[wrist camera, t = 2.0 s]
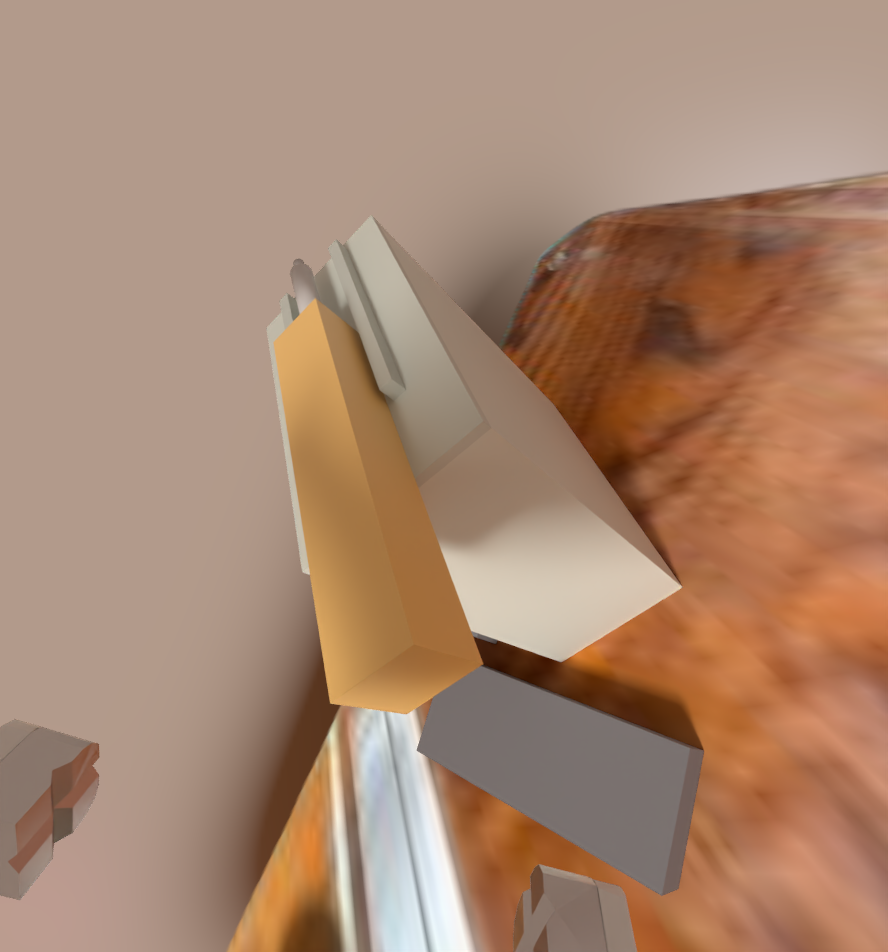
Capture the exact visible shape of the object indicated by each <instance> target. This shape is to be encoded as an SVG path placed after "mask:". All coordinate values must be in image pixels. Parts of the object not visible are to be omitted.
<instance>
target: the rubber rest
mask: <svg viewBox="0 0 888 952" xmlns="http://www.w3.org/2000/svg"><path fill="white" fill-rule="evenodd" d="M417 751H418V752H420V753H422V754H423V755H425V756H427V757H428V758H430V759H432V760H434V761H435V762H437V763H439V764H440V765H442V766H444V767H445V768H447V769H449V770H450V771H452V772H454V773H455V774H457V775H459V776H461V777H462V778H464V779H466V780H467V781H469V782H471V783H472V784H474V785H476V786H477V787H479V788H481V789H483V790H484V791H486V792H488V793H489V794H491V795H493V796H494V797H496V798H498V799H499V800H501V801H503V802H504V803H506V804H508V805H510V806H511V807H513V808H515V809H516V810H518V811H520V812H521V813H523V814H525V815H526V816H528V817H530V818H531V819H533V820H535V821H537V822H538V823H540V824H542V825H543V826H545V827H547V828H548V829H550V830H552V831H553V832H555V833H557V834H558V835H560V836H562V837H564V838H565V839H567V840H569V841H570V842H572V843H574V844H575V845H577V846H579V847H580V848H582V849H584V850H585V851H587V852H589V853H591V854H592V855H594V856H596V857H597V858H599V859H601V860H602V861H604V862H606V863H607V864H609V865H611V866H612V867H614V868H616V869H618V870H619V871H621V872H623V873H624V874H626V875H628V876H629V877H631V878H633V879H634V880H636V881H638V882H639V883H641V884H643V885H645V886H646V887H648V888H650V889H651V890H653V891H655V892H656V893H658V894H660V895H661V896H662V895H665V894H667V893H670V892H672V891H674V890H677V889H678V888H679V882H680V877H681V872H682V866H683V861H684V856H685V850H686V845H687V840H688V834H689V829H690V823H691V818H692V813H693V807H694V802H695V797H696V791H697V786H698V780H699V775H700V770H701V764H702V759H703V754H704V750H701V749H698V748H696V747H693V746H691V745H688V744H686V743H683V742H680V741H678V740H675V739H673V738H670V737H668V736H665V735H662V734H660V733H657V732H655V731H652V730H650V729H647V728H644V727H642V726H639V725H637V724H634V723H632V722H629V721H626V720H624V719H621V718H619V717H616V716H614V715H611V714H608V713H606V712H603V711H601V710H598V709H596V708H593V707H590V706H588V705H585V704H583V703H580V702H578V701H575V700H572V699H570V698H567V697H565V696H562V695H560V694H557V693H554V692H552V691H549V690H547V689H544V688H542V687H539V686H536V685H534V684H531V683H529V682H526V681H524V680H521V679H518V678H516V677H513V676H511V675H508V674H506V673H503V672H500V671H498V670H495V669H493V668H490V667H488V666H485V665H481V666H480V667H478V668H477V669H475V670H474V671H472V672H470V673H469V674H467V675H466V676H464V677H463V678H461V679H460V680H458V681H457V682H455V683H454V684H452V685H451V686H449V687H448V688H446V689H444V690H443V691H441V692H440V693H438V694H437V695H435V696H434V697H433V700H432V703H431V706H430V709H429V713H428V716H427V719H426V722H425V725H424V728H423V732H422V735H421V738H420V741H419V744H418V748H417Z"/></svg>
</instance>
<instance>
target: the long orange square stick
mask: <svg viewBox="0 0 888 952" xmlns="http://www.w3.org/2000/svg"><path fill="white" fill-rule="evenodd" d="M293 264H294V266H293V267H292V269H291V272H290V275H291V279H292V284H293V288H294V292H295V297H296V301H297V305H298V309H299V314H300V315H299V316H298V317H297V318H296V319H295V320H294V321H293V322H292V323H291V324H290V325H289V326H288V327H287V328H286V329H285V330H284V332H283V333H282V334H281V335H280V336H279V337H278V338H277V339H276V340H275V341H274V342H273V343H274V350H275V356H276V362H277V369H278V375H279V381H280V388H281V394H282V400H283V407H284V413H285V419H286V426H287V432H288V438H289V445H290V451H291V457H292V464H293V470H294V476H295V483H296V489H297V495H298V502H299V508H300V514H301V521H302V527H303V533H304V540H305V546H306V552H307V559H308V565H309V571H310V578H311V584H312V590H313V597H314V602H315V609H316V615H317V622H318V628H319V634H320V641H321V647H322V653H323V660H324V666H325V673H326V679H327V685H328V691H329V698H330V703H332V704H338V705H345V706H352V707H359V708H366V709H373V710H380V711H387V712H394V713H401V714H408V713H409V712H411V711H412V710H414V709H415V708H417V707H418V706H420V705H421V704H423V703H425V702H426V701H428V700H429V699H431V698H432V697H434V696H435V695H437V694H438V693H440V692H441V691H443V690H444V689H446V688H448V687H449V686H451V685H452V684H454V683H455V682H457V681H458V680H460V679H461V678H463V677H464V676H466V675H467V674H469V673H470V672H472V671H474V670H475V669H477V668H478V667H480V666H481V665H483V662H482V659H481V656H480V654H479V651H478V648H477V646H476V643H475V640H474V638H473V635H472V632H471V629H470V627H469V624H468V621H467V619H466V616H465V613H464V610H463V608H462V605H461V602H460V600H459V597H458V594H457V591H456V589H455V586H454V583H453V581H452V578H451V575H450V572H449V570H448V567H447V564H446V562H445V559H444V556H443V553H442V551H441V548H440V545H439V543H438V540H437V537H436V534H435V532H434V529H433V526H432V524H431V521H430V518H429V515H428V513H427V510H426V507H425V505H424V502H423V499H422V497H421V494H420V491H419V488H418V486H417V483H416V480H415V478H414V475H413V472H412V469H411V467H410V464H409V461H408V459H407V456H406V453H405V450H404V448H403V445H402V442H401V440H400V437H399V434H398V431H397V429H396V426H395V423H394V421H393V418H392V415H391V412H390V410H389V407H388V404H387V402H386V399H385V396H384V393H383V392H381V391H380V390H379V387H378V384H377V382H376V379H375V376H374V373H373V371H372V368H371V365H370V362H369V360H368V357H367V354H366V351H365V349H364V346H363V343H362V340H361V338H360V335H359V333H358V332H357V331H356V330H355V329H353V328H352V327H351V326H350V325H348V324H347V323H346V322H345V321H343V320H342V319H341V318H340V317H338V316H337V315H336V314H335V313H334V312H332V311H331V310H330V309H329V308H327V307H326V306H325V305H324V304H322V303H321V300H320V296H319V293H318V290H317V286H316V283H315V280H314V276H313V273H312V270H311V268H310V267H309V266H308V265H306V264H304V262H303V260H301V259H296V260H295V261H294V263H293Z"/></svg>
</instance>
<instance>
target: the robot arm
mask: <svg viewBox="0 0 888 952" xmlns="http://www.w3.org/2000/svg"><path fill="white" fill-rule="evenodd" d="M98 758H99V744H98V743H94V742H91V741H88V740H84V739H81V738H77V737H74V736H70V735H67V734H64V733H60V732H56V731H53V730H50V729H47V728H44V727H41V726H37V725H34V724H30V723H27V722H23V721H19V720H13V721H11V722H9V723H7V724H5V725H3V726H1V727H0V895H1V896H5V897H9V898H13V899H17V900H21V898H22V897H23V896H24V895H25V893H26V892H27V891H28V889H29V888H30V887H31V886H32V884H33V883H34V882H35V881H36V879H37V878H38V877H39V875H40V874H41V873H42V872H43V870H44V869H45V868H46V866H47V865H48V864H49V863H50V861H51V860H52V859H53V848H54V843H55V842H57V841H59V840H61V839H62V838H64V837H66V836H68V835H69V834H71V833H73V832H74V830H75V829H76V828H77V826H78V825H79V824H80V822H81V821H82V820H83V818H84V817H85V816H86V814H87V812H88V810H89V808H90V806H91V804H92V802H93V800H94V799H95V796H96V792H97V789H98V785H99V774H98V773H97V772H96V770H95V769H94V767H93V766H92V765H93V764H94V763H95V762H96V761H97V759H98ZM530 881H531V889H529V890H527V891H525V892H523V893H522V896H521V898H520V901H519V903H518V906H517V911H516V916H515V921H514V933H513V952H637V949H636V944H635V939H634V934H633V929H632V924H631V920H630V915H629V910H628V905H627V900H626V895H625V893H624V892H623V890H622V888H621V887H619V886H617V885H613V884H609V883H605V882H601V881H597V880H593V879H591V878H590V877H586V876H582V875H578V874H574V873H570V872H566V871H563V870H559V869H555V868H551V867H547V866H543V865H537V866H536V867H535V868H534V870H533V872H532V874H531V876H530Z"/></svg>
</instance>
